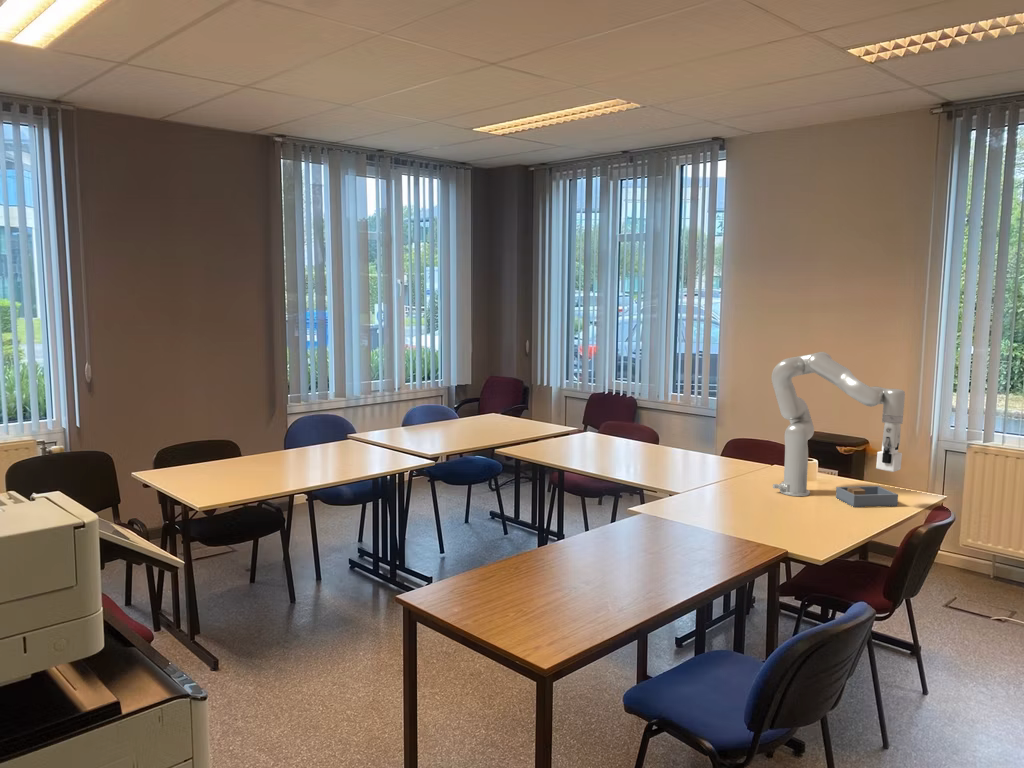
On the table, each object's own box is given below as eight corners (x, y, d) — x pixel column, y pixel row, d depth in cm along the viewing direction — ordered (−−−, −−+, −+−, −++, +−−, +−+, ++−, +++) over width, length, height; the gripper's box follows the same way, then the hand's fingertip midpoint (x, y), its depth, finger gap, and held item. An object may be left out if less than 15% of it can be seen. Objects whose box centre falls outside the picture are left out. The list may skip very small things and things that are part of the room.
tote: (853, 507, 301) (854, 495, 301) (835, 498, 315) (836, 487, 315) (897, 506, 303) (898, 494, 302) (877, 497, 317) (878, 486, 316)
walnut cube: (864, 502, 306) (865, 490, 306) (853, 502, 306) (854, 490, 306) (858, 498, 311) (858, 487, 311) (847, 499, 311) (847, 487, 310)
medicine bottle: (883, 466, 306) (885, 438, 304) (900, 469, 300) (903, 441, 299) (875, 468, 301) (877, 440, 300) (893, 472, 296) (896, 443, 294)
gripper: (898, 423, 289) (894, 466, 291) (907, 417, 303) (903, 459, 305) (877, 420, 294) (873, 463, 296) (887, 415, 307) (883, 456, 309)
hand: (888, 461), depth 300 cm, fingers closed on medicine bottle, 7 cm apart
